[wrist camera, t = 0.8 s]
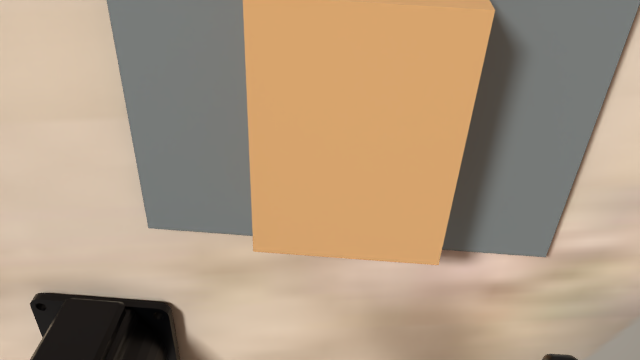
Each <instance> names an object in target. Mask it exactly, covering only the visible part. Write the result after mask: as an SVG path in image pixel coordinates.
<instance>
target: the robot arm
mask: <svg viewBox="0 0 640 360" xmlns="http://www.w3.org/2000/svg"><path fill="white" fill-rule="evenodd" d="M30 306H31V309H32V311H33V314H34V316H35V319H36V322H37V324H38V327H39V329H40V332H41V335H42V337H43V338H42V340H41V342H40V344H39V345H38V347H37V349H36V350H35V352H34V354H33V356H32V357H31V359H30V360H180V356H179V350H178V344H177V339H176V333H175V327H174V321H173V315H172V310H171V308H170V307H169V306H168V305H167V304H165V303H162V302H152V301H139V300H126V299H113V298H101V297H88V296H75V295H62V294H49V293H38V294H36V295H35V297H34V298H33V300H32V301H31V303H30ZM542 360H578V359H576V358H575V357H573V356H571V355H560V354H547V355H545V356H544V357H543V359H542Z"/></svg>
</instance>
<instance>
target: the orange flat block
mask: <svg viewBox="0 0 640 360" xmlns="http://www.w3.org/2000/svg"><path fill="white" fill-rule="evenodd" d="M494 13H495V9H494V7H493V5H492V4H491V2H490V0H243V18H244V41H245V65H246V89H247V112H248V136H249V160H250V184H251V207H252V231H253V251H254V252H268V253H281V254H295V255H308V256H322V257H335V258H349V259H362V260H376V261H390V262H403V263H417V264H430V265H439V260H440V256H441V251H442V247H443V242H444V238H445V233H446V229H447V224H448V220H449V215H450V211H451V206H452V202H453V197H454V193H455V189H456V184H457V180H458V175H459V171H460V166H461V162H462V157H463V153H464V148H465V144H466V139H467V135H468V130H469V126H470V121H471V117H472V112H473V108H474V103H475V99H476V94H477V90H478V85H479V81H480V76H481V72H482V67H483V63H484V58H485V54H486V49H487V45H488V40H489V36H490V31H491V27H492V22H493V18H494Z"/></svg>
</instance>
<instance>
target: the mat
mask: <svg viewBox="0 0 640 360" xmlns="http://www.w3.org/2000/svg"><path fill="white" fill-rule="evenodd" d="M490 2H491V4H492V5H493V7H494V9H495V13H494V18H493V22H492V27H491V31H490V36H489V40H488V45H487V49H486V54H485V58H484V63H483V67H482V72H481V76H480V81H479V85H478V90H477V94H476V99H475V103H474V108H473V112H472V117H471V121H470V126H469V130H468V135H467V139H466V144H465V148H464V153H463V157H462V162H461V166H460V171H459V175H458V180H457V184H456V189H455V193H454V197H453V202H452V206H451V211H450V215H449V220H448V224H447V229H446V233H445V238H444V242H443V247H442V250H455V251H469V252H483V253H496V254H510V255H524V256H537V257H546V255H547V252H548V249H549V247H550V244H551V241H552V239H553V236H554V233H555V231H556V228H557V225H558V222H559V220H560V217H561V214H562V212H563V209H564V206H565V204H566V201H567V198H568V196H569V193H570V190H571V188H572V185H573V182H574V179H575V177H576V174H577V171H578V169H579V166H580V163H581V161H582V158H583V155H584V153H585V150H586V147H587V144H588V142H589V139H590V136H591V134H592V131H593V128H594V126H595V123H596V120H597V118H598V115H599V112H600V109H601V107H602V104H603V101H604V99H605V96H606V93H607V91H608V88H609V85H610V83H611V80H612V77H613V75H614V72H615V69H616V66H617V64H618V61H619V58H620V56H621V53H622V50H623V48H624V45H625V42H626V40H627V37H628V34H629V31H630V29H631V26H632V23H633V21H634V18H635V15H636V13H637V10H638V7H639V5H640V0H490ZM107 5H108V10H109V15H110V21H111V26H112V32H113V37H114V43H115V48H116V54H117V59H118V64H119V70H120V75H121V81H122V86H123V92H124V97H125V103H126V108H127V113H128V119H129V124H130V130H131V135H132V141H133V146H134V152H135V157H136V163H137V168H138V173H139V179H140V184H141V190H142V195H143V201H144V206H145V212H146V217H147V222H148V228H154V229H168V230H181V231H195V232H209V233H222V234H236V235H250V236H253V231H252V207H251V184H250V160H249V136H248V112H247V89H246V65H245V41H244V18H243V0H107Z"/></svg>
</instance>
